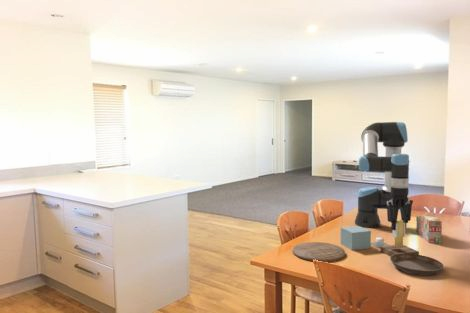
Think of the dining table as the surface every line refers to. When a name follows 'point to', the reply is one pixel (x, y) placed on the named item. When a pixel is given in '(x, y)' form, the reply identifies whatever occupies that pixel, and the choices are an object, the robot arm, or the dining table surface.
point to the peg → (399, 233)
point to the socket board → (397, 250)
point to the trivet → (318, 251)
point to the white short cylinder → (379, 243)
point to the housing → (355, 237)
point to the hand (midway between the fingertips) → (398, 236)
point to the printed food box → (429, 228)
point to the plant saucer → (416, 264)
